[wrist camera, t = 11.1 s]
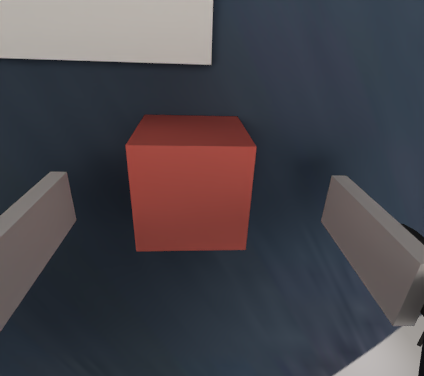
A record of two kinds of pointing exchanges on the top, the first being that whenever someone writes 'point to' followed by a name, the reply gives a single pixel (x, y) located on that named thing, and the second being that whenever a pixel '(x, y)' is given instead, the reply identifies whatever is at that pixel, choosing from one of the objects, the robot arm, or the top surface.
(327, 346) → the top surface
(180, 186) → the brick-red cube
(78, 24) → the panel
